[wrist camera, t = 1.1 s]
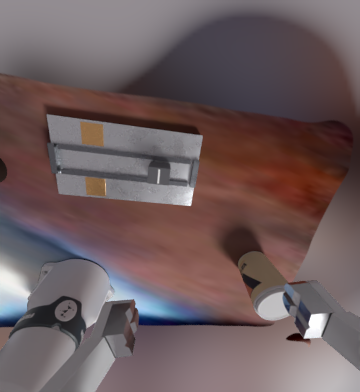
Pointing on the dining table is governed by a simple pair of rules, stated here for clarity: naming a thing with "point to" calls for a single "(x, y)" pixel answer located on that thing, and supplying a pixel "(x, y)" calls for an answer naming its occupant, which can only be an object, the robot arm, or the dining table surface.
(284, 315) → the coffee cup
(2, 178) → the coffee mug
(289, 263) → the dining table surface
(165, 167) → the fader knob
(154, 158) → the console
